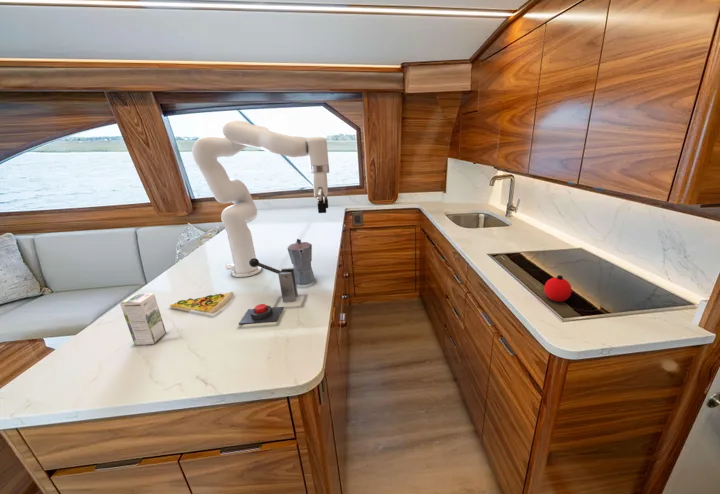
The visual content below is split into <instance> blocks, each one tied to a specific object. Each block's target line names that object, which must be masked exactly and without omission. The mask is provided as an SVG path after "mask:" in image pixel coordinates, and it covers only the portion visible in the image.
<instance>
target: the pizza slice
mask: <svg viewBox="0 0 720 494" xmlns="http://www.w3.org/2000/svg"><path fill="white" fill-rule="evenodd" d="M233 296H234V291H228V292H226V293H218V294H217V293H216V294H209V295H206V296H202V297H197V298H194V299H193V298H192V297H191V298H188V299H186V300H185V299H180V300H178V301H177V302H175V303H172V304H169V307H170V308H171V309H173V310H174V309H175V310H180V311H184V312H191V310H192V311H196V312H197V311H198V312H202V313H207V314H210V315H211V314H212V315H213V314H216V313H217V312H218V311H219V310H221V309H223V308H224V307H225V306H226V305H228V303H229V302H230V301H231V299H233Z"/></svg>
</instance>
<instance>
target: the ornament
mask: <svg viewBox="0 0 720 494" xmlns="http://www.w3.org/2000/svg"><path fill="white" fill-rule="evenodd" d="M543 287H544V288H543V291H544V294H545V296H546V297H547V298H548V299H549V300H551V301H553V302H557V303H558V302H559V303H560V302H561V303H562V302H565V301H567V300H568V299H569V298H570V297H571V296H572V293H573V289H572V285H571V284H570V282H569V281H568V280H567V279H565V278H564V275H561V274H559V275H557V276H555V277H551V278H550V279H547V281H546V282H545V284H544V286H543Z"/></svg>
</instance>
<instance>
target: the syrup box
mask: <svg viewBox="0 0 720 494" xmlns="http://www.w3.org/2000/svg"><path fill="white" fill-rule="evenodd" d="M119 305H120V308H121V312H122V313H123V317H124V319H125V322H126V325H127V328H128V330H129V333H130V336H131V338H132V341H133V345H134V346H142V345H143V346H145V345H155V344H156V343H157V342H158V341H159V340H161V339H162V337H163V336H165V335H166V334H167V330H166V327H165V325H164V321H163V317H162V314H161V311H160V308H159V304H158V302H157V297H156V295H155V293H147V292H146V293H143V292H142V293H135V294H133V295H132V296H129V297H128V298H126V299H125V300H123V301H122V302H120V304H119Z"/></svg>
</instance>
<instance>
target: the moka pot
mask: <svg viewBox="0 0 720 494" xmlns="http://www.w3.org/2000/svg"><path fill="white" fill-rule="evenodd" d="M287 252H288V255H289V259H290V261H291V265H293V268H294V272H295V279H296V285H298V286H306V285H309V284H312V283H314V281H316V278H315V277H316V276H315V273H314V270H313V267H312V259H313V244H312V243H310V242H307V241H302V240H301V239H299V238H297V239H296V241H295V243H291V244H289V245H288V246H287Z"/></svg>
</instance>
